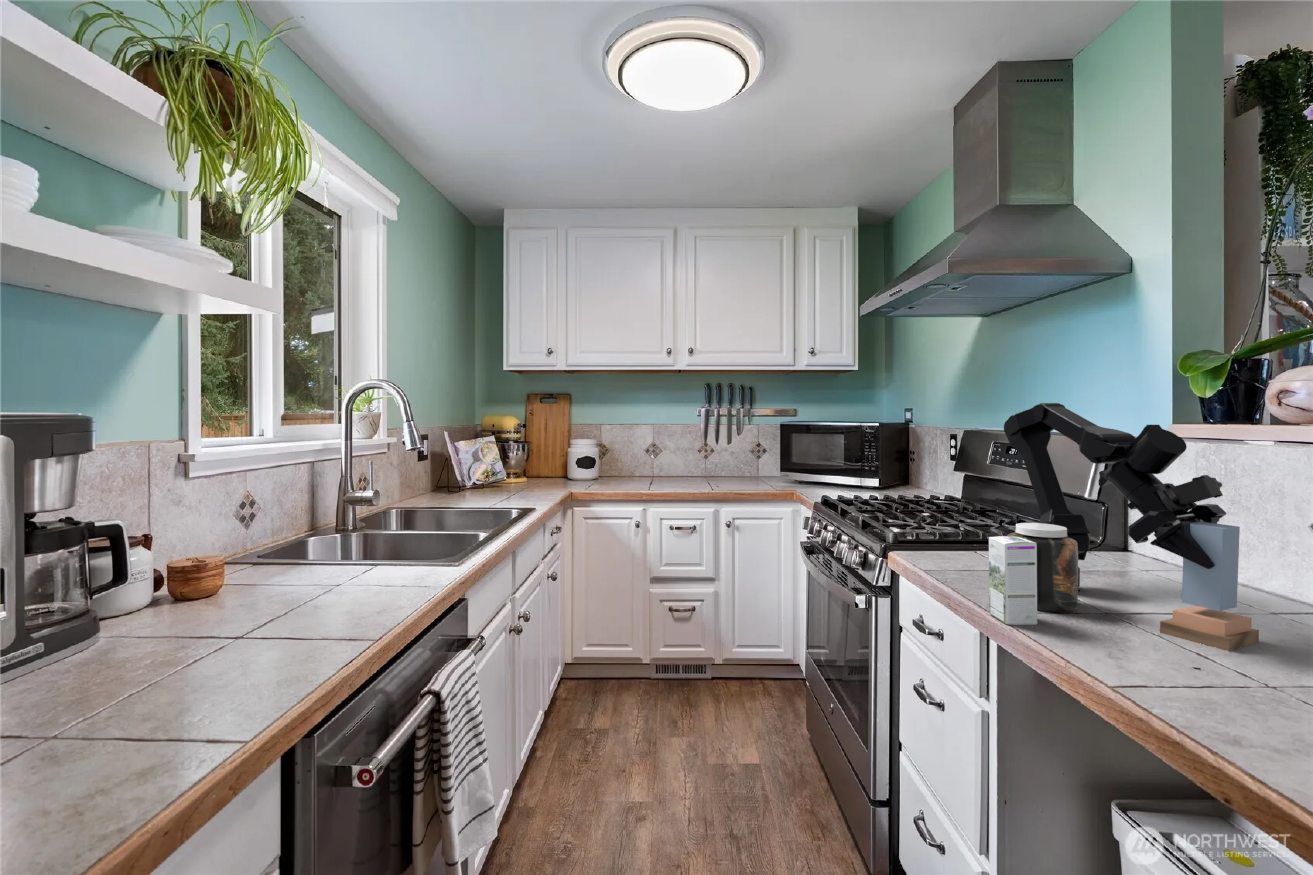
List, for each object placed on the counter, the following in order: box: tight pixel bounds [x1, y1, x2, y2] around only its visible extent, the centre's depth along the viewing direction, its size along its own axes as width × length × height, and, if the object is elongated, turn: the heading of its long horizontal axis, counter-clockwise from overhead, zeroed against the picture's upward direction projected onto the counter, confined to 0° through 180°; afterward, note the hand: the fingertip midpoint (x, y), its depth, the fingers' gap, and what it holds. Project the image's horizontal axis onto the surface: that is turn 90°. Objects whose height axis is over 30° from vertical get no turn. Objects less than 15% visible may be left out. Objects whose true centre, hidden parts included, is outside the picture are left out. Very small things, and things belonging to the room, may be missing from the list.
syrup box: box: [988, 535, 1038, 626], centre depth 108 cm, size 6×6×14 cm
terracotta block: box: [1172, 605, 1253, 636], centre depth 98 cm, size 7×7×2 cm
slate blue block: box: [1181, 522, 1241, 611], centre depth 98 cm, size 5×5×13 cm
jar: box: [1006, 522, 1079, 613], centre depth 117 cm, size 12×12×15 cm
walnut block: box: [1159, 617, 1260, 652], centre depth 98 cm, size 9×9×2 cm
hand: (1220, 565), depth 97 cm, fingers closed on slate blue block, 5 cm apart
